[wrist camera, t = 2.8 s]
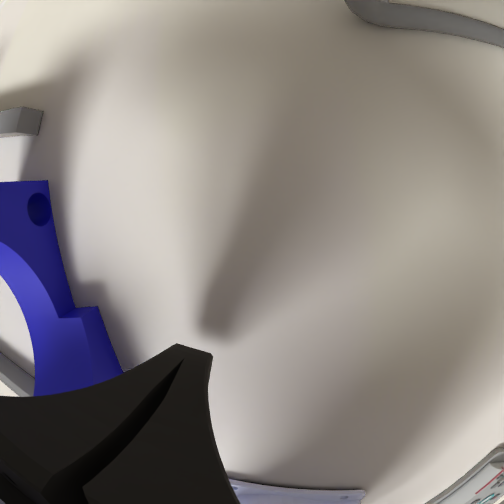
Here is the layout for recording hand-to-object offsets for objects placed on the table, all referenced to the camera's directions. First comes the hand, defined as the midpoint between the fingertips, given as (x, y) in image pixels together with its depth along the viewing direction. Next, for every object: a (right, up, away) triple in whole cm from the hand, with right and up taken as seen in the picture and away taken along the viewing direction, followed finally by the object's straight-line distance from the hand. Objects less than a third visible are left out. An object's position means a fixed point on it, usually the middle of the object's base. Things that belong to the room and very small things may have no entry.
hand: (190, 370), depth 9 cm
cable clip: (-7, +1, +2) cm, 7 cm away
